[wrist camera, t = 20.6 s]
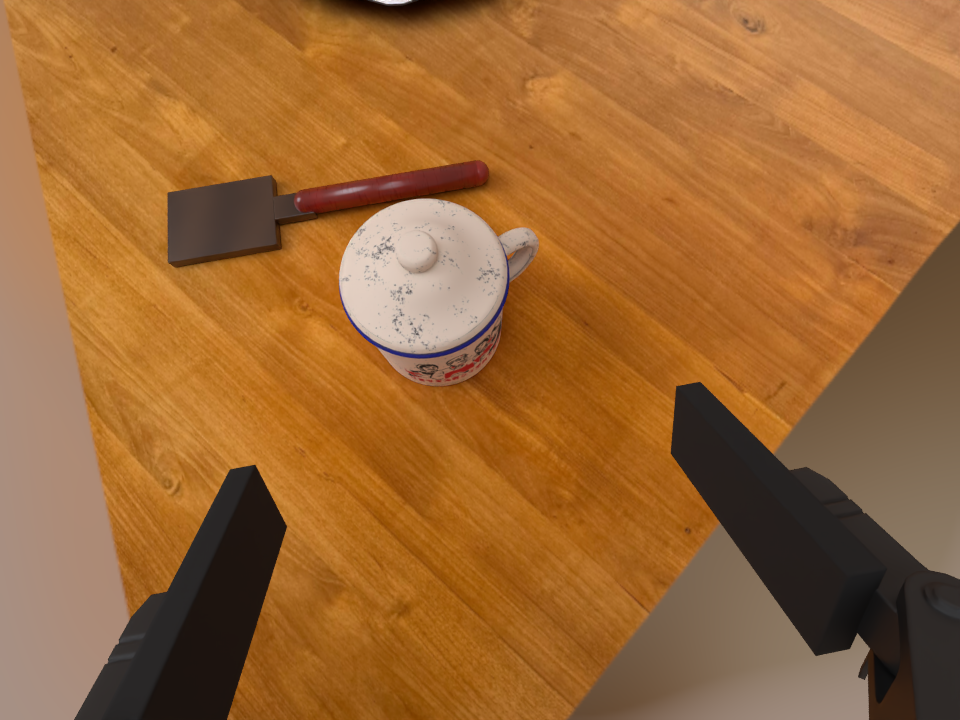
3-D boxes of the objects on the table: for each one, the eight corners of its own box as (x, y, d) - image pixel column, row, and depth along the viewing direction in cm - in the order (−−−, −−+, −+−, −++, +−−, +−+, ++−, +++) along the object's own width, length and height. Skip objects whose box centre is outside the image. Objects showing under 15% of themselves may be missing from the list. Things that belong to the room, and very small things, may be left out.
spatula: (174, 267, 35) (157, 256, 33) (174, 198, 36) (158, 184, 34) (496, 212, 35) (496, 198, 33) (482, 146, 37) (481, 130, 35)
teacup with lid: (415, 415, 31) (374, 376, 20) (354, 308, 33) (285, 218, 22) (563, 327, 33) (602, 244, 21) (495, 230, 35) (499, 108, 24)
